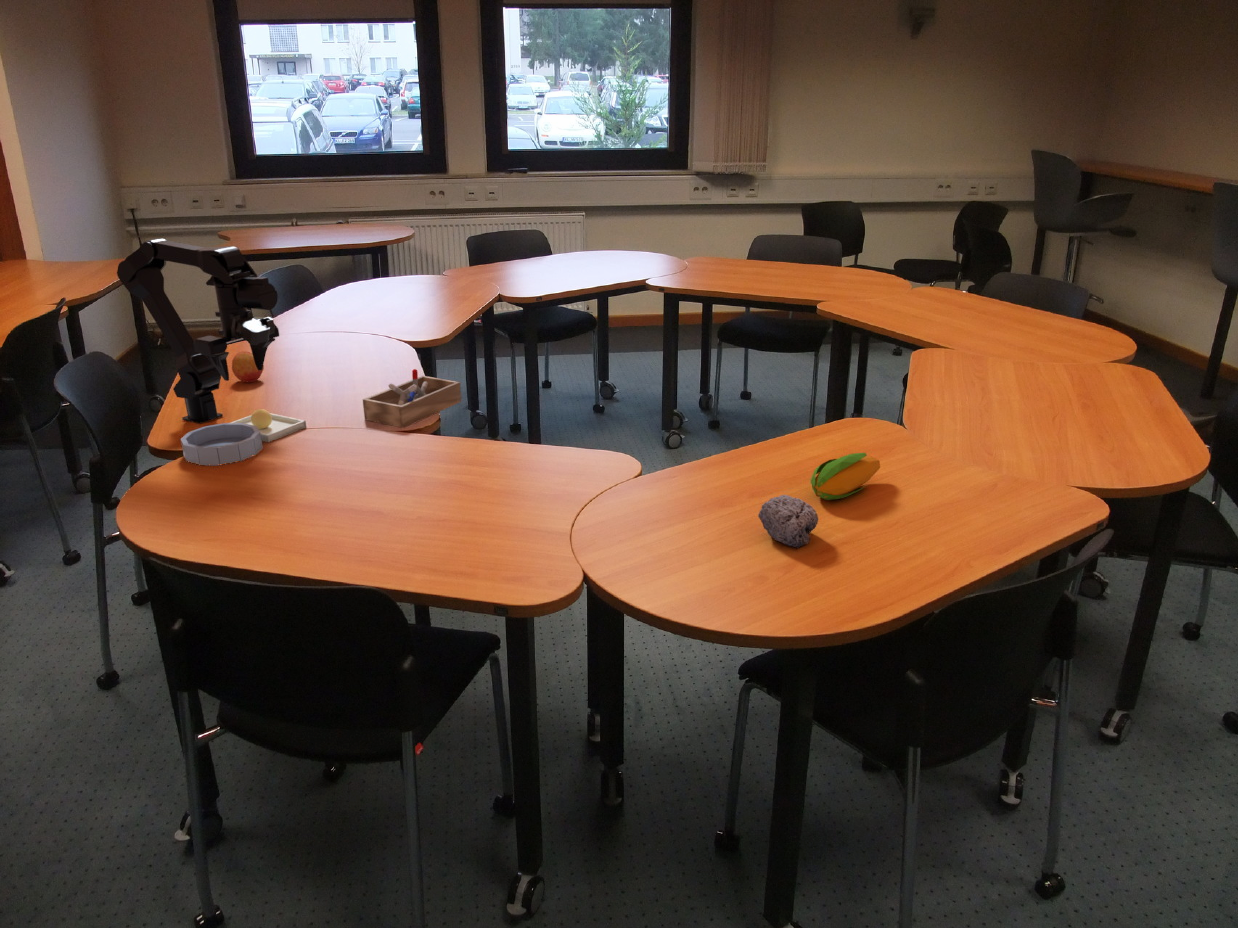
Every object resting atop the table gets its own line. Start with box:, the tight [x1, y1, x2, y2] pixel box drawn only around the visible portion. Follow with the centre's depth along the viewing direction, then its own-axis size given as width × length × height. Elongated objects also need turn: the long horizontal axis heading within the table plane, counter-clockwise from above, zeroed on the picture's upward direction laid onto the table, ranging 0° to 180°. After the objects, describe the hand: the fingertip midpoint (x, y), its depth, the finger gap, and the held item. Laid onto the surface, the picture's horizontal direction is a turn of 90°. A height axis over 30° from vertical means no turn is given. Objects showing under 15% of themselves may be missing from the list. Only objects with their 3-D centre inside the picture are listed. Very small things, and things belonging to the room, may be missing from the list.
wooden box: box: [362, 375, 462, 429], centre depth 216 cm, size 12×22×5 cm, turn 152°
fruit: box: [231, 351, 265, 384], centre depth 237 cm, size 8×8×8 cm
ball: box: [251, 408, 272, 429], centre depth 203 cm, size 4×4×4 cm
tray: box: [230, 412, 307, 443], centre depth 204 cm, size 14×11×2 cm
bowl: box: [180, 422, 264, 466], centre depth 191 cm, size 15×15×4 cm
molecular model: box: [388, 368, 428, 405], centre depth 215 cm, size 18×8×10 cm, turn 174°
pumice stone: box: [757, 494, 819, 549], centre depth 154 cm, size 10×8×10 cm
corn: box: [810, 452, 881, 501], centre depth 173 cm, size 7×8×20 cm
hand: (243, 375), depth 203 cm, fingers open, 9 cm apart
